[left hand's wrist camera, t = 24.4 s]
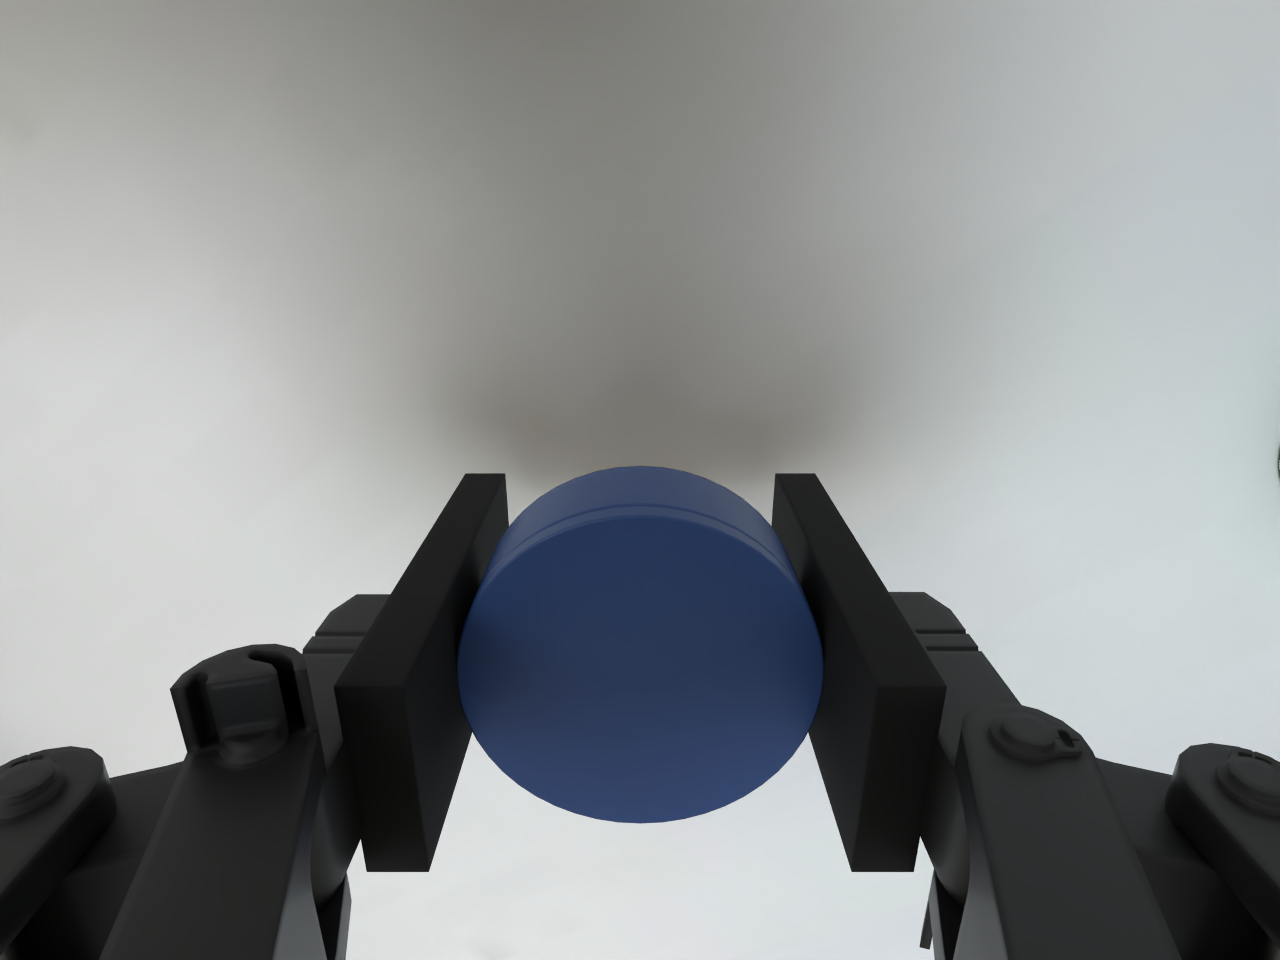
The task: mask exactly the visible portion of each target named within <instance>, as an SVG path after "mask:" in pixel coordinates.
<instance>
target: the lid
mask: <svg viewBox="0 0 1280 960" xmlns="http://www.w3.org/2000/svg"><path fill="white" fill-rule="evenodd" d="M456 665H457V678H458V688H459V696H460V702H461V705H462V708H463V711H464V713H465V716H466V719H467V722H468V724H469V726H470V728H471V730H472V732H473V734H474V735H475V737H476V739H477V741H478V742H479V744H480V745H481V746H482V748H483V749H484V751H485V752H486V754H487V755H488V756H489V757H490V758H491V760H492V761H493V762H494V763H495V764H496V765H497V766H498V767H499V768H500V769H501V770H502V771H503V772H504V773H505V774H506V775H507V776H509V777H510V778H511V779H512V780H513V781H515V782H516V783H517V784H518V785H520V786H521V787H523V788H524V789H526V790H527V791H529V792H530V793H532V794H533V795H535V796H537V797H539V798H540V799H542V800H544V801H546V802H548V803H550V804H552V805H554V806H557V807H559V808H562V809H565V810H567V811H570V812H573V813H576V814H579V815H583V816H587V817H591V818H595V819H600V820H607V821H613V822H623V823H658V822H667V821H674V820H681V819H686V818H690V817H694V816H697V815H701V814H705V813H708V812H711V811H713V810H716V809H719V808H721V807H724V806H726V805H728V804H730V803H732V802H734V801H736V800H738V799H740V798H742V797H744V796H746V795H747V794H749V793H750V792H752V791H753V790H755V789H756V788H758V787H760V786H761V785H762V784H764V783H765V782H766V781H767V780H768V779H770V778H771V777H772V776H773V775H774V774H776V773H777V772H778V771H779V770H780V769H781V768H782V767H783V766H784V765H785V763H786V762H787V761H788V760H789V759H790V758H791V757H792V756H793V754H794V753H795V752H796V750H797V749H798V747H799V746H800V745H801V743H802V742H803V740H804V739H805V737H806V735H807V733H808V731H809V729H810V727H811V725H812V723H813V721H814V718H815V715H816V712H817V709H818V706H819V704H820V699H821V693H822V684H823V674H824V656H823V648H822V641H821V638H820V634H819V631H818V628H817V624H816V621H815V619H814V616H813V614H812V611H811V609H810V606H809V604H808V601H807V599H806V597H805V594H804V592H803V589H802V587H801V584H800V582H799V579H798V577H797V574H796V572H795V570H794V567H793V565H792V562H791V560H790V558H789V556H788V553H787V551H786V549H785V547H784V545H783V543H782V541H781V540H780V538H779V537H778V535H777V534H776V532H775V531H774V529H773V528H772V526H771V525H770V524H769V523H768V522H767V521H766V520H765V519H764V518H763V516H762V515H761V514H760V513H759V512H758V511H757V510H756V509H754V508H753V507H752V506H751V505H750V504H749V503H747V502H746V501H745V500H744V499H743V498H741V497H739V496H738V495H736V494H735V493H733V492H732V491H730V490H729V489H727V488H725V487H723V486H721V485H719V484H717V483H715V482H713V481H711V480H708V479H706V478H704V477H700V476H697V475H694V474H691V473H688V472H685V471H680V470H674V469H669V468H664V467H650V466H631V467H617V468H611V469H606V470H601V471H596V472H593V473H589V474H586V475H583V476H580V477H577V478H574V479H572V480H570V481H568V482H566V483H564V484H561V485H559V486H557V487H555V488H554V489H552V490H550V491H549V492H547V493H546V494H544V495H543V496H541V497H539V498H538V499H537V500H536V501H534V502H533V503H532V504H531V505H530V506H528V507H527V508H526V509H525V510H524V511H523V512H522V513H521V514H520V515H519V516H518V517H517V518H516V519H515V520H514V522H513V523H512V524H511V525H510V526H509V527H508V529H507V530H506V532H505V533H504V535H503V536H502V538H501V539H500V541H499V542H498V544H497V546H496V548H495V550H494V553H493V555H492V557H491V559H490V561H489V564H488V566H487V569H486V571H485V573H484V576H483V578H482V581H481V583H480V586H479V588H478V591H477V593H476V595H475V598H474V600H473V603H472V605H471V608H470V610H469V612H468V615H467V617H466V620H465V622H464V626H463V629H462V633H461V636H460V640H459V644H458V652H457V660H456Z"/></svg>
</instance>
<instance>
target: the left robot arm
mask: <svg viewBox="0 0 1280 960" xmlns="http://www.w3.org/2000/svg"><path fill="white" fill-rule="evenodd" d="M508 527H509V521H508V507H507V493H506V479H505V474H465V475H464V477H463V479H462V480H461V482H460V483H459V485H458V487H457V488H456V490H455V491H454V493H453V495H452V496H451V498H450V500H449V501H448V503H447V504H446V506H445V508H444V509H443V511H442V512H441V514H440V516H439V517H438V519H437V520H436V522H435V524H434V525H433V527H432V529H431V530H430V532H429V533H428V535H427V537H426V538H425V540H424V541H423V543H422V545H421V546H420V548H419V549H418V551H417V553H416V554H415V556H414V558H413V559H412V561H411V562H410V564H409V566H408V567H407V569H406V570H405V572H404V574H403V575H402V577H401V579H400V580H399V582H398V583H397V585H396V587H395V588H394V590H393V591H392V593H391V594H357V595H355V596H354V597H352V598H351V599H349V600H348V601H346V602H345V603H343V604H342V605H340V606H339V607H337V608H336V609H334V610H333V611H331V612H330V613H329V615H328V616H327V617H326V619H325V620H324V621H323V623H322V624H321V625H320V627H319V628H318V630H317V631H316V632H315V636H312V638H311V639H310V640H309V642H308V643H307V644H306V646H305V647H304V649H303V653H302V654H301V653H299V652H298V651H297V650H296V649H295V648H292V647H287V646H283V645H278V644H260V645H249V646H245V647H241V648H236V649H232V650H227V651H225V652H222V653H220V654H218V655H215V656H213V657H210V658H208V659H206V660H203V661H201V662H200V663H198V664H197V665H195V666H194V667H192V668H191V669H189V670H188V671H186V672H185V673H183V674H182V675H181V676H180V678H179V679H178V680H177V681H176V682H175V684H174V685H173V686H172V687H171V688H170V691H171V695H172V699H173V702H174V706H175V709H176V713H177V717H178V720H179V724H180V727H181V731H182V735H183V738H184V742H185V745H186V749H187V755H186V757H185V759H184V761H182V762H178V763H175V764H171V765H168V766H163V767H159V768H154V769H150V770H145V771H140V772H136V773H131V774H126V775H122V776H117V777H113V778H109V776H108V773H107V770H106V767H105V764H104V761H103V758H102V757H100V756H99V755H98V754H97V753H95V752H94V751H93V750H92V749H87V748H80V747H73V746H69V747H61V748H54V749H47V750H42V751H39V752H35V753H31V754H30V755H24V756H22V757H19V758H16V759H14V760H11V761H9V762H8V763H6V764H4V765H2V766H0V960H345V958H346V948H347V939H348V929H349V920H350V911H351V895H350V888H349V882H348V877H347V872H346V871H347V869H348V867H349V864H350V862H351V860H352V857H353V855H354V853H355V851H356V848H357V846H358V844H359V841H360V839H361V842H362V848H363V853H364V859H365V864H366V870H367V872H429V869H430V866H431V863H432V860H433V857H434V853H435V850H436V847H437V844H438V841H439V837H440V834H441V831H442V828H443V824H444V821H445V818H446V815H447V812H448V808H449V805H450V802H451V799H452V795H453V792H454V789H455V786H456V783H457V779H458V776H459V773H460V770H461V766H462V763H463V760H464V757H465V754H466V750H467V747H468V744H469V741H470V738H471V734H472V730H471V728H470V726H469V724H468V722H467V719H466V716H465V713H464V711H463V708H462V705H461V702H460V696H459V688H458V678H457V665H456V660H457V652H458V644H459V640H460V636H461V633H462V629H463V626H464V622H465V620H466V617H467V615H468V612H469V610H470V608H471V605H472V603H473V600H474V598H475V595H476V593H477V591H478V588H479V586H480V583H481V581H482V578H483V576H484V573H485V571H486V569H487V566H488V564H489V561H490V559H491V557H492V555H493V553H494V550H495V548H496V546H497V544H498V542H499V541H500V539H501V538H502V536H503V535H504V533H505V532H506V530H507V529H508ZM772 528H773V529H774V531H775V532H776V534H777V535H778V537H779V538H780V540H781V541H782V543H783V545H784V547H785V549H786V551H787V553H788V556H789V558H790V560H791V562H792V565H793V567H794V570H795V572H796V574H797V577H798V579H799V582H800V584H801V587H802V589H803V592H804V594H805V597H806V599H807V601H808V604H809V606H810V609H811V611H812V614H813V616H814V619H815V621H816V624H817V628H818V631H819V634H820V638H821V641H822V648H823V656H824V674H823V684H822V693H821V699H820V704H819V706H818V709H817V712H816V715H815V718H814V721H813V723H812V725H811V727H810V729H809V731H808V733H809V736H810V739H811V742H812V746H813V749H814V752H815V755H816V759H817V762H818V765H819V768H820V771H821V775H822V778H823V781H824V784H825V788H826V791H827V794H828V797H829V800H830V804H831V807H832V810H833V813H834V816H835V820H836V823H837V826H838V829H839V833H840V836H841V839H842V842H843V845H844V849H845V852H846V855H847V858H848V861H849V865H850V868H851V871H852V872H914V867H915V862H916V856H917V850H918V845H919V839H920V836H921V839H922V841H923V843H924V846H925V848H926V850H927V853H928V855H929V857H930V859H931V862H932V864H933V866H934V872H933V877H932V882H931V887H930V892H929V898H928V903H927V908H926V913H925V918H924V923H923V929H922V935H921V941H920V947H921V948H926V949H930V945H931V940H932V937H933V946H934V956H935V960H1280V762H1278V761H1276V760H1274V759H1273V758H1271V757H1269V756H1266V755H1263V754H1261V753H1258V752H1253V751H1251V750H1248V749H1244V748H1240V747H1236V746H1229V745H1221V744H1214V743H1208V744H1201V745H1194V746H1190V747H1189V748H1187V749H1186V750H1185V751H1184V752H1182V753H1181V754H1180V755H1179V757H1178V760H1177V763H1176V766H1175V769H1174V772H1173V775H1169V774H1164V773H1160V772H1155V771H1150V770H1146V769H1141V768H1136V767H1132V766H1127V765H1122V764H1118V763H1113V762H1110V761H1106V760H1103V759H1099V758H1096V757H1095V756H1094V753H1093V751H1092V750H1091V748H1090V747H1089V746H1088V744H1087V743H1086V741H1085V740H1084V739H1083V737H1082V736H1081V735H1080V734H1079V733H1077V732H1076V731H1075V730H1074V729H1072V728H1071V727H1070V726H1068V725H1067V724H1066V723H1064V722H1063V721H1062V720H1059V719H1057V718H1055V717H1053V716H1051V715H1049V714H1047V713H1045V712H1043V711H1040V710H1038V709H1034V708H1030V707H1026V706H1022V705H1021V704H1020V702H1019V701H1018V700H1017V698H1016V697H1015V696H1014V694H1013V693H1012V692H1011V690H1010V689H1009V688H1008V686H1007V685H1006V684H1005V682H1004V681H1003V680H1002V678H1001V677H1000V676H999V674H998V673H997V672H996V670H995V669H994V667H993V666H992V665H991V663H990V662H989V661H988V659H987V658H986V657H985V655H984V654H983V653H982V651H978V646H977V645H976V643H975V642H974V641H973V639H972V638H971V637H970V635H969V634H966V630H965V628H964V627H963V626H962V624H961V623H960V622H959V620H958V619H957V618H956V616H955V615H954V614H953V612H952V611H951V610H950V609H949V608H947V607H946V606H944V605H943V604H941V603H940V602H938V601H937V600H935V599H934V598H932V597H931V596H929V595H928V594H926V593H925V592H888V591H887V589H886V587H885V586H884V584H883V583H882V581H881V579H880V578H879V576H878V574H877V573H876V571H875V570H874V568H873V566H872V565H871V563H870V562H869V560H868V558H867V557H866V555H865V554H864V552H863V550H862V549H861V547H860V545H859V544H858V542H857V541H856V539H855V537H854V536H853V534H852V533H851V531H850V529H849V528H848V526H847V525H846V523H845V521H844V520H843V518H842V516H841V515H840V513H839V512H838V510H837V508H836V507H835V505H834V504H833V502H832V500H831V499H830V497H829V496H828V494H827V492H826V491H825V489H824V487H823V486H822V484H821V483H820V481H819V479H818V478H817V476H816V475H815V474H775V486H774V500H773V514H772Z"/></svg>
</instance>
